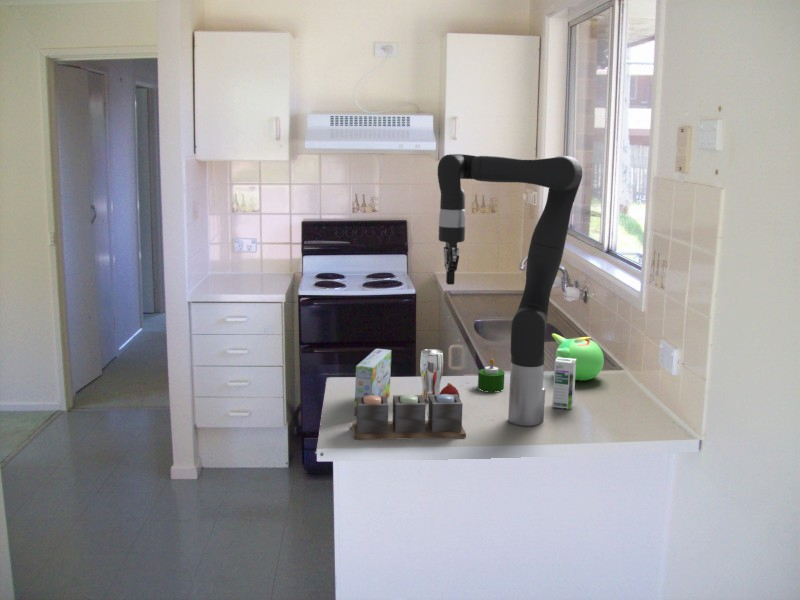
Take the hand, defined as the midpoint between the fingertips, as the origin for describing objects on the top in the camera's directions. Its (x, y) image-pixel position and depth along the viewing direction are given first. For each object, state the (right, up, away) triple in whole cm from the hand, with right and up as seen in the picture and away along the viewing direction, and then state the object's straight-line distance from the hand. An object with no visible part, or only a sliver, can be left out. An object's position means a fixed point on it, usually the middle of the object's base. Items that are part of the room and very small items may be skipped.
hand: (450, 284), depth 245 cm
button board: (-12, -41, -15) cm, 45 cm away
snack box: (-23, -36, +6) cm, 43 cm away
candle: (+14, -33, +25) cm, 44 cm away
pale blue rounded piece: (-2, -36, -15) cm, 39 cm away
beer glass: (-5, -35, +13) cm, 38 cm away
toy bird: (+44, -31, +37) cm, 66 cm away
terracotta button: (-22, -36, -17) cm, 45 cm away
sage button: (-12, -36, -16) cm, 41 cm away
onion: (0, -37, +5) cm, 37 cm away
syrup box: (+35, -37, +9) cm, 51 cm away
